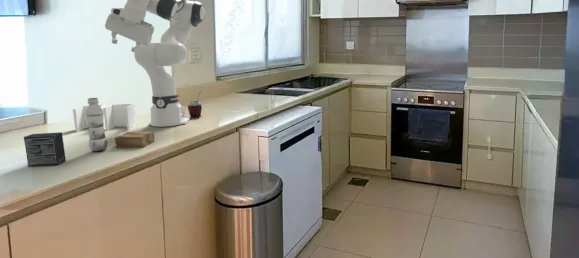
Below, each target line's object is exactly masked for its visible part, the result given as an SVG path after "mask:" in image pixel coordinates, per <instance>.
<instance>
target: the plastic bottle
mask: <svg viewBox="0 0 579 258" xmlns="http://www.w3.org/2000/svg"><path fill="white" fill-rule="evenodd" d="M87 104H88V105H87V106H88V108H87V109H86V113H85V114H86V118H87V122H88V127H89V128H88V132H89V134H88V137H89V141H88V146H89V149H90V150H91V152H102V151H104V150H107V147H108V141H107V136H106V131H105V129H104V123H103V117H104V115H103V114H104V112H103V109H102V108H101V107H100V106H99V105H100V104H99V97H90V98H87Z"/></svg>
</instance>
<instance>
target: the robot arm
mask: <svg viewBox="0 0 579 258" xmlns="http://www.w3.org/2000/svg"><path fill="white" fill-rule="evenodd" d="M110 12H111V13H109V14H108V16H107V18H106V21H105V24H104V27H105V29H106V30H108V31H110V32H111V33H110V34H111V43H112V44H114V45H117V44H118V39H117V35H120V36H122V37H123V38H127V39H129V40H131V41H133V42H135V46H134V47H133V46H132V47H131V50H130V52H133V53H134V54H133V55H134V59H135V62H136V63H137V64H138V65H139V66H140V67H142V68H143V70H145V72H146V73H147V75H148V77H149V80H150V85H151V92H152V96H151V101H152V106H151V107H150V121H149V122H148V125H149V126H152V127H158V128H159V127H163V128H164V127H174V126H179V125H180V126H181V125H186V124H187V123H188V122H189V121H190V120H191V118H190V116H186V112H185V107H183V105H182V104H181V103H180V102H179V101H180V100H179V99H180V94H179V93H178V94H177V86H176V78H175V77H174V76H173V75H171V74H170V73H167V71H166V69H165V68H164V67H176V66H179V65H183V64H185V63H186V61H187V59H188V50H187V47H186V46H185V45H186V44H187V42H188V41H189V39H190V37H191V34H192V27H194V28H195V27H198V25H199V24H201V23H202V22H203V20H204V19H205V16H206V10H205V6H204V5H203V3H201V2H199V1H192V0H126V3H125V4H124V8H122V7H120V8H119V7H112V8H111V9H110ZM147 12H148V13H150V14H152V15H155V16H158V17H159V18H162V19H164V20H166V21H168V22H169V21H170V22H174V23H173V24H172V25H170V26H169V27H168V28H167V30H166V31H165V32H164V33H163V34H162V35H161V37H160V42H152V38H153V34H154V32H155V28H154V26H153V24H152V23H149V22H148V21H145V18H146V16H147Z"/></svg>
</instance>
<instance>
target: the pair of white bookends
mask: <svg viewBox="0 0 579 258" xmlns="http://www.w3.org/2000/svg"><path fill="white" fill-rule="evenodd" d="M98 105H99V106H100V107H101V108H102V109H103V112H104V114H103V115H104V117H103V123H104V128H105V132H108V131H110V130H111V129H113V128H115V127H116V128H117V127H126V130H127V131H131V130H132V129H133V128H136V126H138V125H137V124H138V123H137V115H136V105H135V103H121V104H120V103H119V104H118V103H117V104H110V105H107V106H106V104H98ZM88 106H89V105H81V106H78V107H76V108H73V109H72V113H73V121H74V127H75V133H79V132H81V131H82V130H85V129H87V128H88V122H87V118H86V114H85V113H86V109H87V108H88ZM84 128H85V129H84ZM88 129H89V128H88Z"/></svg>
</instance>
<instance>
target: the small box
mask: <svg viewBox="0 0 579 258" xmlns="http://www.w3.org/2000/svg"><path fill="white" fill-rule="evenodd" d="M23 140H24V147H25V154H26V159H27V166H28V168H30V167H31V168H32V167H33V168H34V167H47V166H48V167H51V166H59V165H61V164H63V163H64V162H67V158H66V151H65V145H64V137H63V132H59V131H58V132H44V133H32V134H28V135H24V137H23Z"/></svg>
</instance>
